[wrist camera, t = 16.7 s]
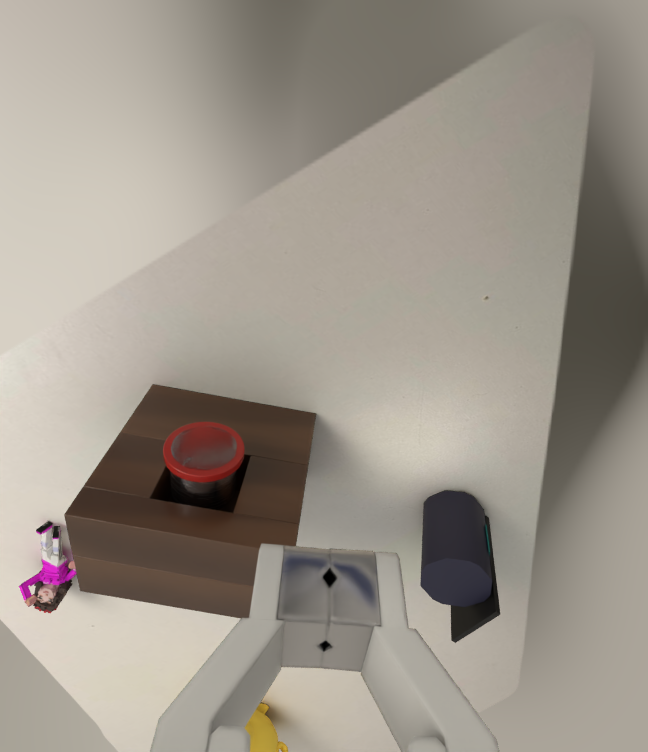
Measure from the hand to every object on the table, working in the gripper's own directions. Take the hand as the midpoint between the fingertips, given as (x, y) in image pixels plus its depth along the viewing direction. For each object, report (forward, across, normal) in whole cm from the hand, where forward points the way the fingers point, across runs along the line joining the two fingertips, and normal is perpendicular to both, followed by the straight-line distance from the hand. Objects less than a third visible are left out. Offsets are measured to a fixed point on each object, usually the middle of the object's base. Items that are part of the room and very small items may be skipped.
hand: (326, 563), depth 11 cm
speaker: (+24, +14, -26) cm, 38 cm away
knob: (+19, -7, -15) cm, 26 cm away
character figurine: (+27, -27, -41) cm, 56 cm away
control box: (+26, -7, -20) cm, 33 cm away
